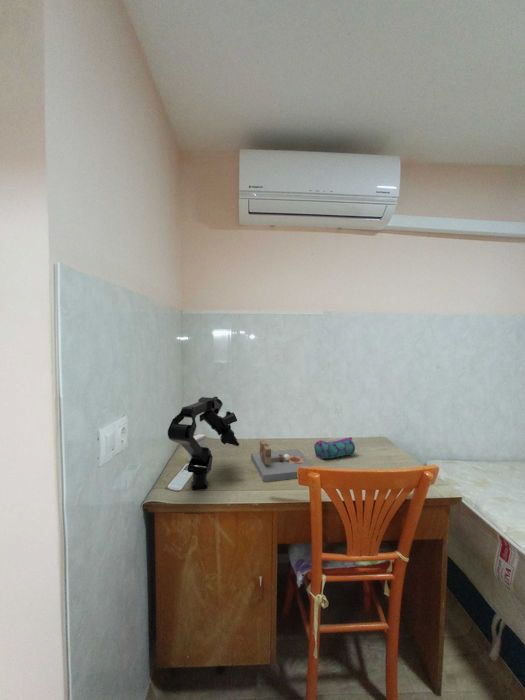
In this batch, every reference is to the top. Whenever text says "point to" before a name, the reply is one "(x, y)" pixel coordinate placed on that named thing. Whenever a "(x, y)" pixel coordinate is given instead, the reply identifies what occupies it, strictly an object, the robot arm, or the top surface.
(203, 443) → the ink box
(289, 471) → the deck
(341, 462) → the top surface
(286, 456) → the ball
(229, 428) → the robot arm
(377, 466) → the top surface
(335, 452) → the pencil case
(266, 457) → the plunger
